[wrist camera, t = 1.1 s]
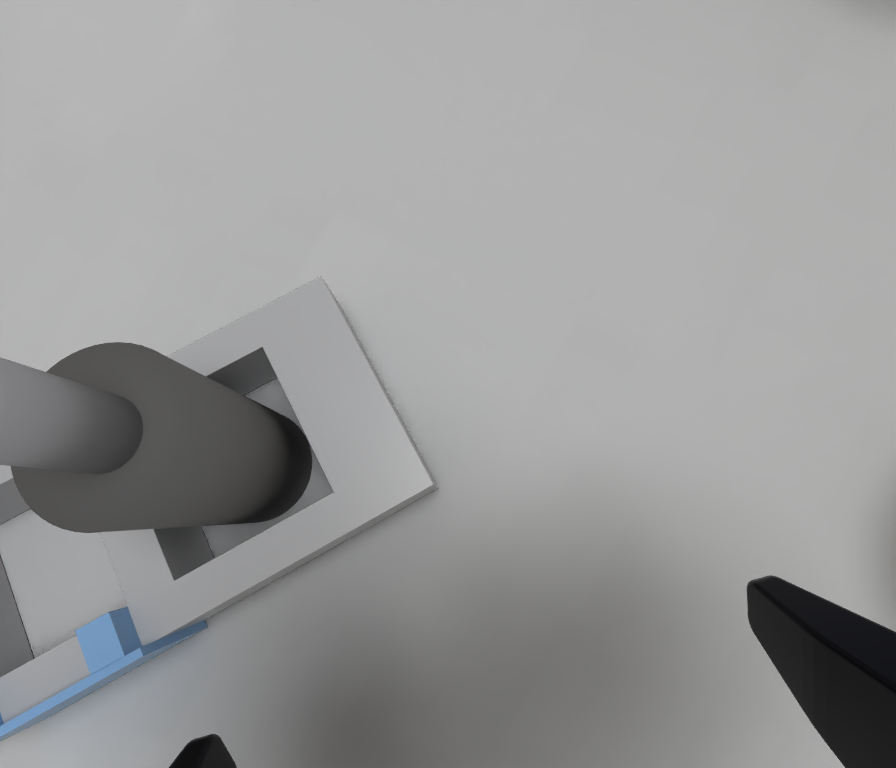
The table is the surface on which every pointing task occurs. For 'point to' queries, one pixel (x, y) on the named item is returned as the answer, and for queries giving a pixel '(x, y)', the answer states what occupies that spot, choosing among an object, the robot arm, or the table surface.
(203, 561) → the cinder block
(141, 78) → the table surface
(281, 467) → the plug
